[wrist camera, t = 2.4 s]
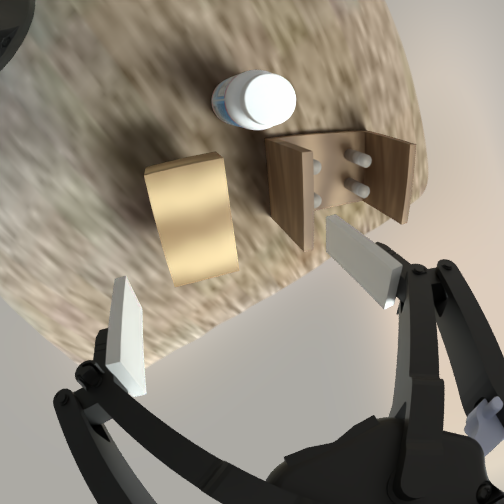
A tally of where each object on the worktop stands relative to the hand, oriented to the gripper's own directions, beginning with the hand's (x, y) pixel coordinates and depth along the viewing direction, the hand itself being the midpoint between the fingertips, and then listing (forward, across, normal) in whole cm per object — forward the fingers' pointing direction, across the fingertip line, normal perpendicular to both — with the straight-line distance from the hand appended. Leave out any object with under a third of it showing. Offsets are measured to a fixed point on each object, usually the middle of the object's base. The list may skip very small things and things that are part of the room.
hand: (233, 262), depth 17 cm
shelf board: (+13, -1, -2) cm, 13 cm away
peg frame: (+19, +18, -2) cm, 26 cm away
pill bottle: (+19, +7, +9) cm, 22 cm away
